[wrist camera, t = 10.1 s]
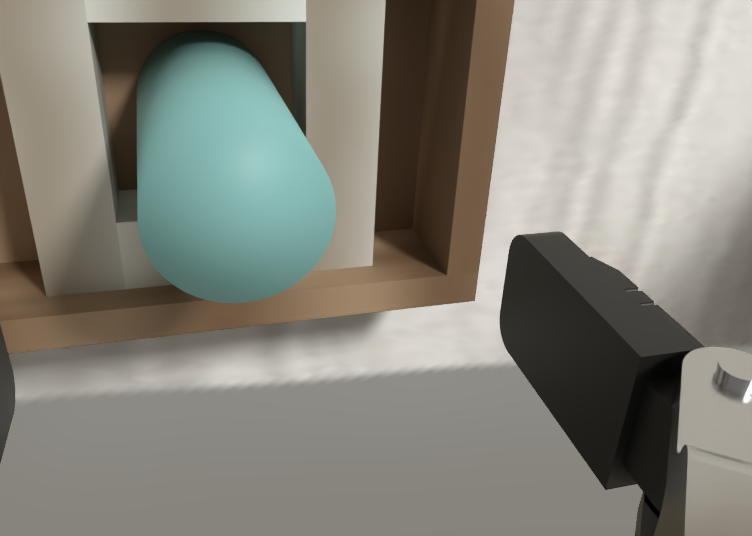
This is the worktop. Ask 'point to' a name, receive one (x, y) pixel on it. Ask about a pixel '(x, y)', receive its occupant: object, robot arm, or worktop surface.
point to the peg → (225, 174)
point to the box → (314, 117)
